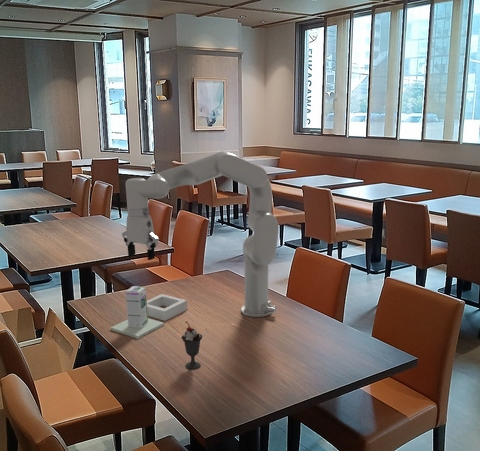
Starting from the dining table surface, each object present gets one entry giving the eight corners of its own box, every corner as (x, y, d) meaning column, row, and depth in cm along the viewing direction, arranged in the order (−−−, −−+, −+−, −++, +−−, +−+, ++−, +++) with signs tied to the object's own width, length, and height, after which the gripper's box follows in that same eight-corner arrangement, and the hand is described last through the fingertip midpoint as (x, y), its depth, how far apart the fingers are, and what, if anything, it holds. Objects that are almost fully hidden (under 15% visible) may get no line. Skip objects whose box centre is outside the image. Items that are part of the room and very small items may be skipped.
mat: (164, 325, 198) (163, 322, 198) (138, 338, 187) (137, 336, 187) (137, 317, 206) (137, 314, 206) (110, 330, 194) (110, 327, 194)
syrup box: (142, 328, 193) (140, 291, 190) (127, 327, 194) (125, 290, 191) (148, 322, 198) (146, 286, 195) (133, 321, 200) (131, 285, 196)
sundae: (182, 361, 170) (181, 318, 167) (203, 360, 171) (201, 317, 167) (182, 371, 164) (180, 327, 160) (203, 370, 164) (202, 326, 161)
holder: (187, 309, 213) (186, 300, 212) (165, 320, 202) (164, 311, 201) (162, 302, 220) (161, 293, 219) (139, 313, 209) (139, 304, 208)
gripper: (163, 212, 187) (166, 257, 191) (128, 208, 197) (131, 251, 201) (149, 216, 181) (152, 263, 185) (113, 212, 190) (117, 256, 194)
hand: (141, 257), depth 193 cm, fingers open, 9 cm apart
